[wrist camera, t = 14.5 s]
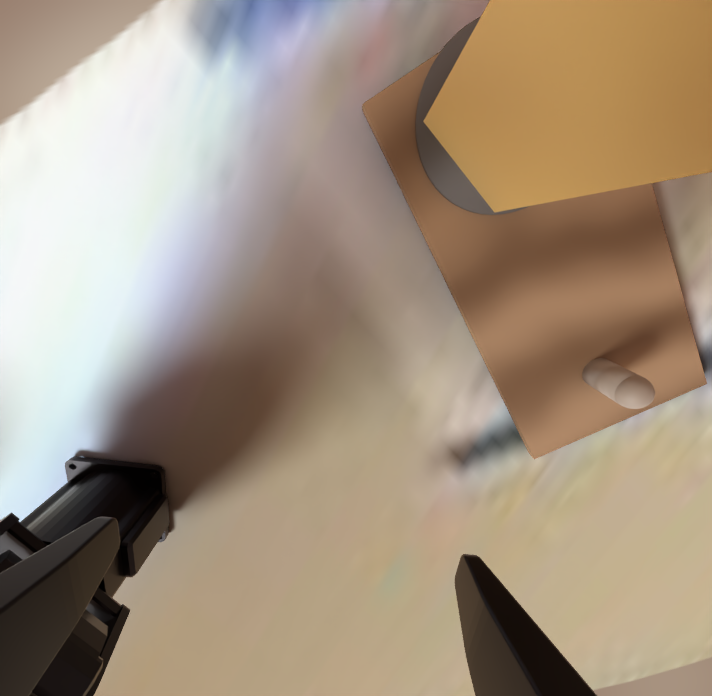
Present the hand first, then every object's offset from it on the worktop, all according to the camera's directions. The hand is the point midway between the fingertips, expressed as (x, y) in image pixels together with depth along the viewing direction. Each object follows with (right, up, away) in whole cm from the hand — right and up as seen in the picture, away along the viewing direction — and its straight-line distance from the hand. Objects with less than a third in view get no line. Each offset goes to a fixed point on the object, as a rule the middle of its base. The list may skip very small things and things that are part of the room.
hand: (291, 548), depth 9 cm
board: (+12, +10, +10) cm, 19 cm away
